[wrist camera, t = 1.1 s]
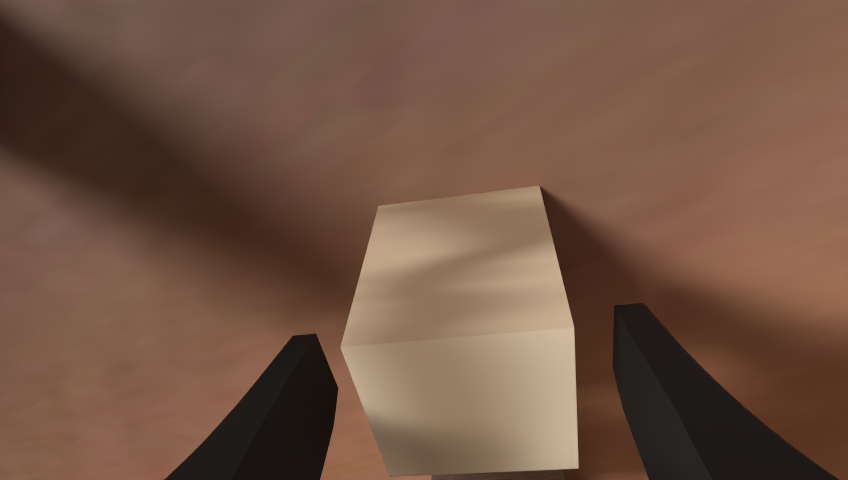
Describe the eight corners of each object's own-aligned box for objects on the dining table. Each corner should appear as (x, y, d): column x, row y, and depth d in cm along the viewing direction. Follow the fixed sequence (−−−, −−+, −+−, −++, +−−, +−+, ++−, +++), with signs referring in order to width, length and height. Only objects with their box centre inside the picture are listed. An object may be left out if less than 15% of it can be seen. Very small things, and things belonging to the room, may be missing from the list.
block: (539, 184, 14) (573, 327, 10) (547, 308, 17) (578, 469, 12) (378, 205, 15) (340, 347, 10) (409, 320, 17) (390, 476, 13)
